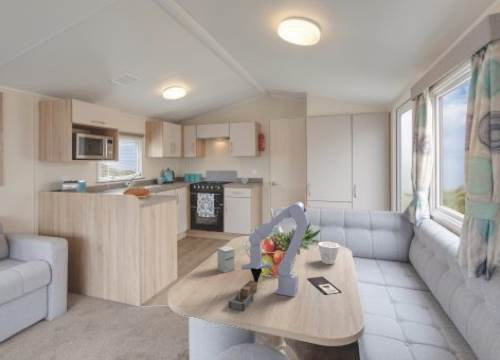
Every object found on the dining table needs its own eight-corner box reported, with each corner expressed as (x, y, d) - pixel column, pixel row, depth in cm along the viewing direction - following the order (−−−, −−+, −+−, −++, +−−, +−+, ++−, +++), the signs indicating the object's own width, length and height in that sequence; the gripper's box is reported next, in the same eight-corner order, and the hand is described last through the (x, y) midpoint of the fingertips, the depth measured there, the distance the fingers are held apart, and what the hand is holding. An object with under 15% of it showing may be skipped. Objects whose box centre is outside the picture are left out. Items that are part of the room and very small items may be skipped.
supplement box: (224, 273, 160) (224, 251, 159) (217, 269, 166) (217, 247, 165) (235, 270, 165) (235, 248, 164) (227, 266, 171) (227, 245, 170)
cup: (336, 267, 170) (336, 248, 169) (315, 263, 176) (316, 245, 175) (340, 260, 181) (341, 243, 180) (321, 257, 187) (321, 240, 186)
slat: (250, 290, 140) (250, 280, 140) (256, 291, 139) (256, 281, 138) (240, 299, 131) (240, 288, 131) (247, 300, 130) (247, 290, 130)
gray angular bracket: (253, 300, 130) (253, 294, 129) (245, 311, 121) (245, 304, 120) (237, 297, 133) (237, 291, 133) (227, 307, 124) (227, 300, 124)
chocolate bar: (322, 276, 155) (341, 291, 138) (322, 278, 155) (341, 293, 138) (307, 278, 153) (324, 293, 136) (307, 279, 153) (324, 295, 136)
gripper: (243, 259, 137) (243, 287, 138) (272, 257, 140) (272, 284, 141) (240, 254, 143) (240, 281, 145) (268, 253, 146) (268, 278, 148)
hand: (255, 282), depth 143 cm, fingers closed
